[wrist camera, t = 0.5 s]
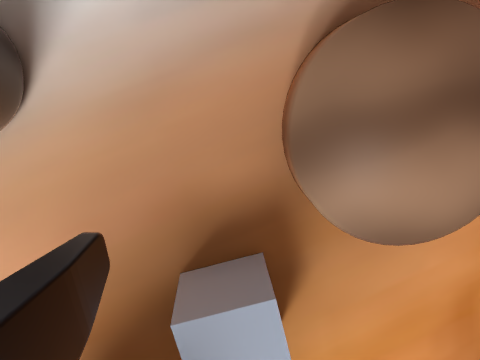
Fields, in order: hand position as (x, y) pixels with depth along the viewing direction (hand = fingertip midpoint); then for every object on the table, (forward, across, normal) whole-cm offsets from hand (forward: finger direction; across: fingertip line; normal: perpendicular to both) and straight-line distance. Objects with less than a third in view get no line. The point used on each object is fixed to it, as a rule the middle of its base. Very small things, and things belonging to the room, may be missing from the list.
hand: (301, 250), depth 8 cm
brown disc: (+13, -6, +2) cm, 15 cm away
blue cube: (+10, +3, +12) cm, 15 cm away
